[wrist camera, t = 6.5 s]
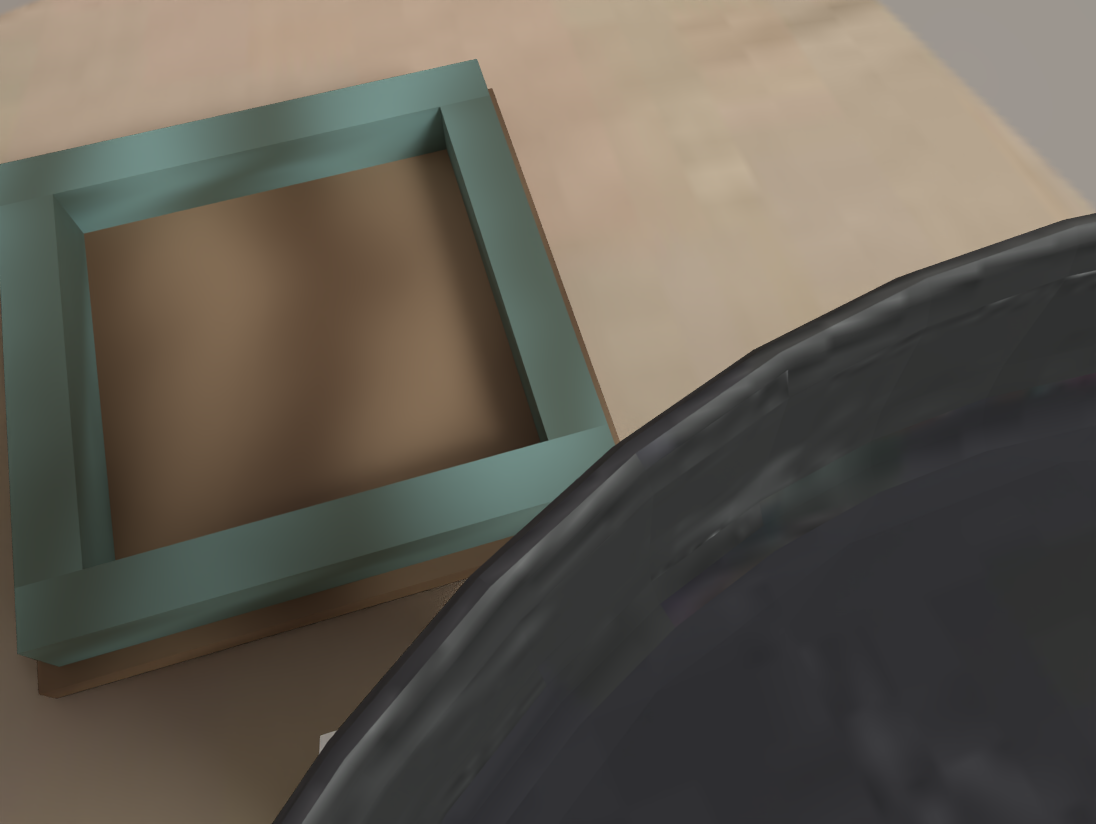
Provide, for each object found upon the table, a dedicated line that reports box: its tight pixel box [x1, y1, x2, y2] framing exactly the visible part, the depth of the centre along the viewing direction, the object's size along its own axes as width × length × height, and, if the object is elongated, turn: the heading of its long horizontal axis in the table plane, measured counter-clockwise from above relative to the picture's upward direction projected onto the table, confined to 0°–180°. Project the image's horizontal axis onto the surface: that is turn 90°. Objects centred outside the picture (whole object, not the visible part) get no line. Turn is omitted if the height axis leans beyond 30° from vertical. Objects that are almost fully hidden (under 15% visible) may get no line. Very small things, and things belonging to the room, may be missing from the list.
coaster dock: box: [0, 59, 620, 698], centre depth 24 cm, size 15×15×3 cm
